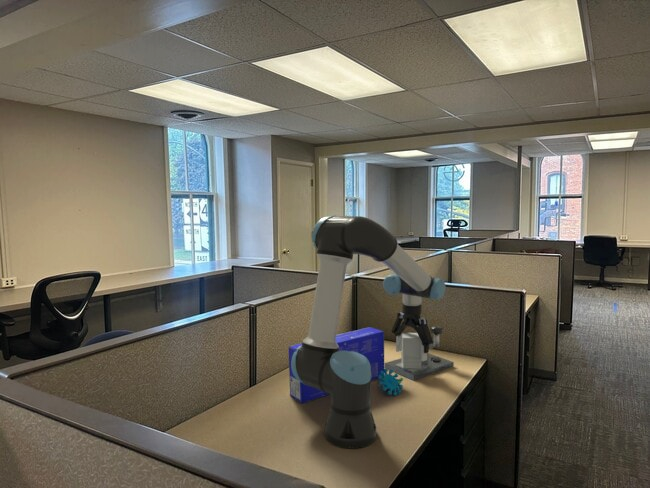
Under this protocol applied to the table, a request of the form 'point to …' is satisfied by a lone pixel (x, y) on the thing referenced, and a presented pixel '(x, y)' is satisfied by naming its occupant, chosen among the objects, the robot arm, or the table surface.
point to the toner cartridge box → (357, 341)
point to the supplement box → (411, 351)
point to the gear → (390, 382)
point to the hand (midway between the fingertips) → (411, 355)
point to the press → (427, 367)
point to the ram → (436, 334)
